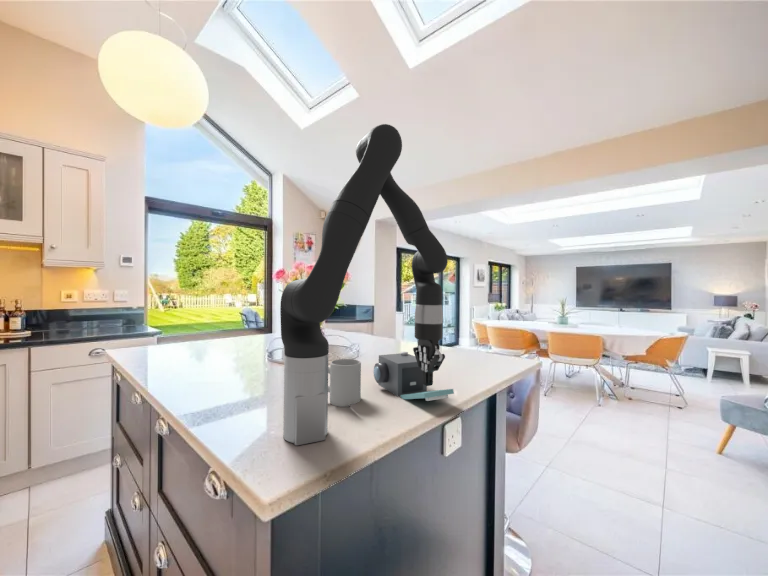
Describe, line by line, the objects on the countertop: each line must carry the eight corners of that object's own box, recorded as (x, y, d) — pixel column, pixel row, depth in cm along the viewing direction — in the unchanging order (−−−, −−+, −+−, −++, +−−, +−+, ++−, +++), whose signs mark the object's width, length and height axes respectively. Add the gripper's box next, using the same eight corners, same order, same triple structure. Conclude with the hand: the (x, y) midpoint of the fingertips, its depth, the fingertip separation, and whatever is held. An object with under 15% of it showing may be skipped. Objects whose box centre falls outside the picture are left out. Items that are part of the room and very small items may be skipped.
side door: (428, 398, 97) (454, 396, 86) (401, 402, 93) (425, 401, 82) (426, 391, 98) (453, 388, 87) (400, 395, 94) (424, 393, 83)
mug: (361, 396, 96) (362, 359, 96) (359, 407, 87) (359, 365, 87) (320, 396, 96) (321, 358, 96) (314, 406, 87) (314, 365, 87)
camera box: (427, 394, 99) (427, 358, 99) (388, 400, 93) (389, 361, 93) (405, 382, 111) (405, 350, 111) (370, 387, 105) (370, 353, 105)
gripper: (454, 323, 85) (453, 390, 85) (427, 318, 97) (426, 377, 97) (430, 324, 82) (429, 393, 82) (404, 319, 94) (404, 380, 94)
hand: (427, 384), depth 90 cm, fingers closed
